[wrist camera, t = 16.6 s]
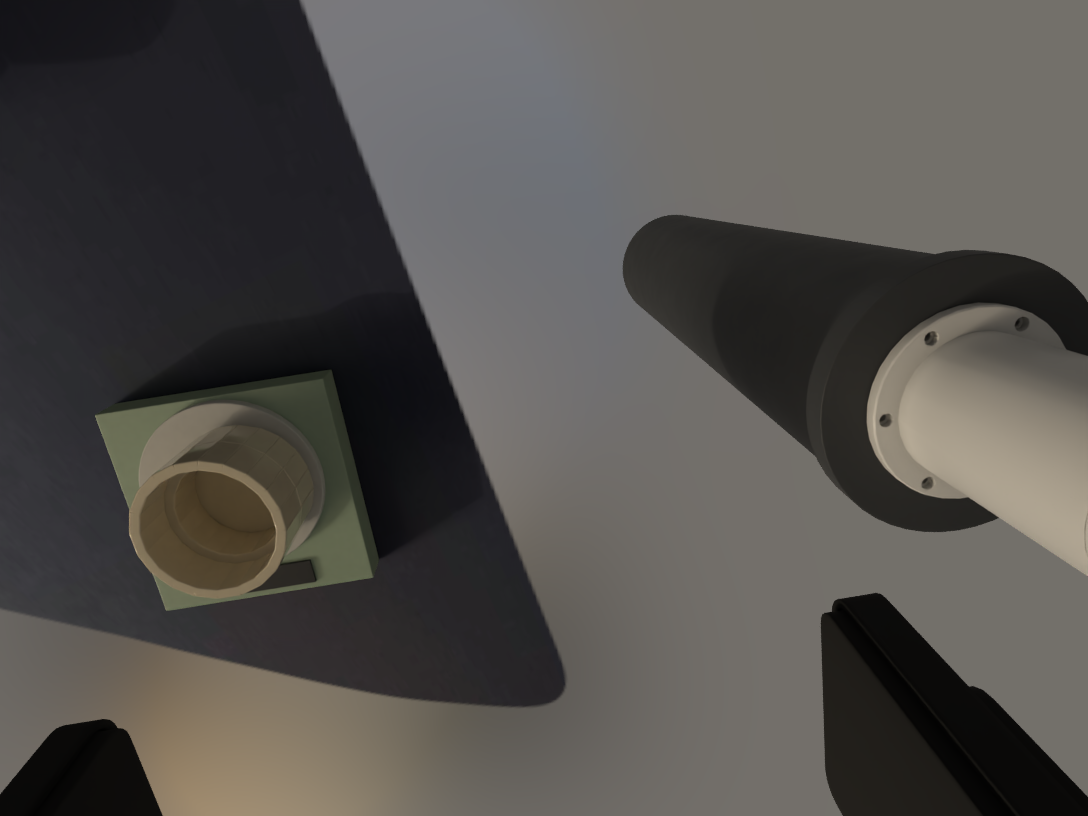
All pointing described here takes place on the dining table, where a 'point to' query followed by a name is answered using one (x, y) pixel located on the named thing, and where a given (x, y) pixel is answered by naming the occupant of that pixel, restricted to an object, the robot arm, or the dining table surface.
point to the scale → (296, 416)
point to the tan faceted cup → (222, 512)
